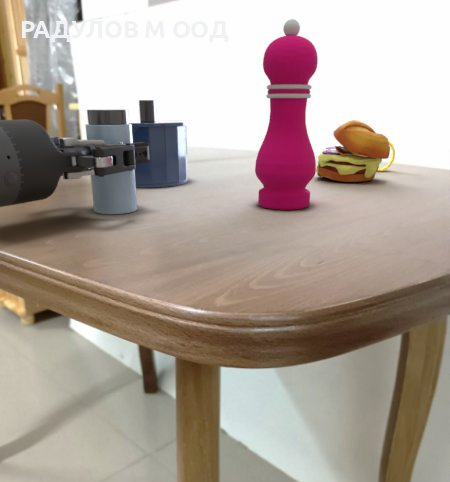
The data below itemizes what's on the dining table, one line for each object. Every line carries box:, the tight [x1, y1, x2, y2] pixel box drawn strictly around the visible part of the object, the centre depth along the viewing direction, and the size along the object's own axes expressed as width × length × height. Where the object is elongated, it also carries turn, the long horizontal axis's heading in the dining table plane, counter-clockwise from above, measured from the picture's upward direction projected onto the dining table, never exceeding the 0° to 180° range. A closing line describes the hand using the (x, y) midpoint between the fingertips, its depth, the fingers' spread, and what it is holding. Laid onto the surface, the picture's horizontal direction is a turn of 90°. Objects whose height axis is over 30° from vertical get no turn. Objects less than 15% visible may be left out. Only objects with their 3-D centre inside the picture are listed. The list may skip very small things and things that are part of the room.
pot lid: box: [129, 99, 190, 127], centre depth 73 cm, size 12×12×4 cm
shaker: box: [84, 108, 138, 215], centre depth 55 cm, size 5×5×11 cm
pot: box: [132, 125, 189, 189], centre depth 76 cm, size 11×11×8 cm
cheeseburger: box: [316, 119, 391, 183], centre depth 78 cm, size 10×11×10 cm
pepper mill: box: [254, 18, 319, 211], centre depth 56 cm, size 7×7×20 cm
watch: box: [376, 136, 396, 172], centre depth 89 cm, size 6×3×6 cm, turn 77°
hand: (127, 150), depth 57 cm, fingers open, 5 cm apart
